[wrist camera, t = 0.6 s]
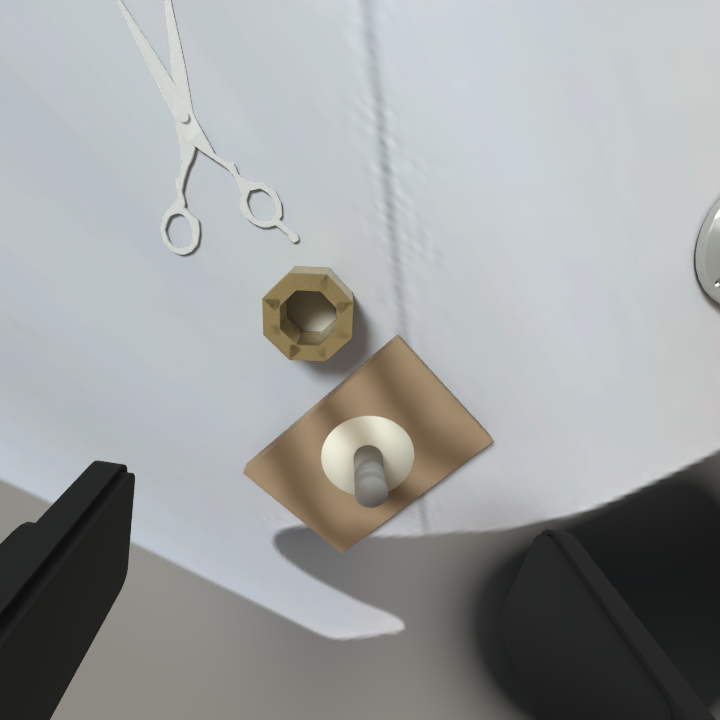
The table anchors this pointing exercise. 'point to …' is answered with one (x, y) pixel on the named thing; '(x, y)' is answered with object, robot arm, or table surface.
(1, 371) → the table surface
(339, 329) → the ring
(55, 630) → the robot arm
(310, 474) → the post plate
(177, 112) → the scissors
